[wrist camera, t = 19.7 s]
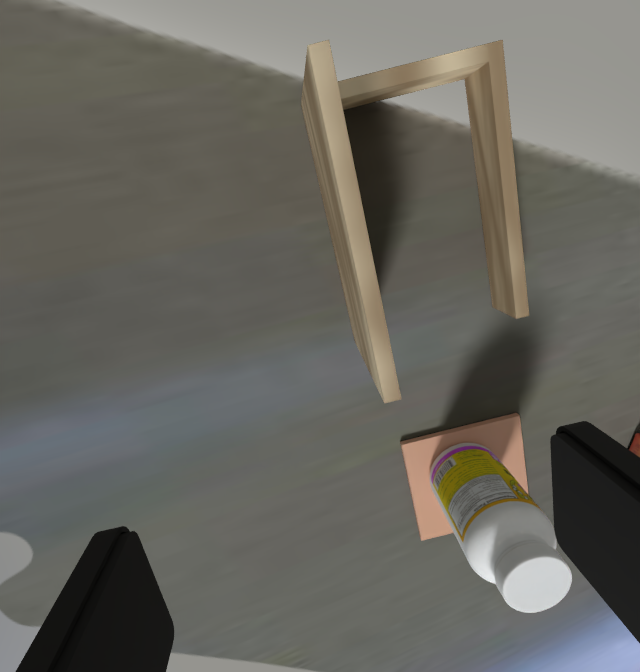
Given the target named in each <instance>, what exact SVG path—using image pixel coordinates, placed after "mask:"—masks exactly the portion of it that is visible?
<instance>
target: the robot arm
mask: <svg viewBox="0 0 640 672" xmlns="http://www.w3.org/2000/svg"><path fill="white" fill-rule="evenodd" d="M551 465H552V487H553V510H554V531H555V536H556V539H557V541H558V544H559V545H560V547H561V548H562V550H563V551H564V552H565V554H566V555H567V556H568V557H569V558H570V560H571V561H572V562H573V563H574V564H575V566H576V567H577V568H578V569H579V571H580V572H581V573H582V574H583V575H584V577H585V578H586V579H587V580H588V581H589V583H590V584H591V585H592V586H593V587H594V589H595V590H596V591H597V592H598V593H599V595H600V596H601V597H602V598H603V599H604V601H605V602H606V603H607V604H608V606H609V607H610V608H611V609H612V610H613V612H614V613H615V614H616V615H617V616H618V618H619V619H620V620H621V621H622V622H623V624H624V625H625V626H626V627H627V628H628V630H629V631H630V632H631V633H632V635H633V636H634V637H635V638H636V639H637V641H638V642H639V643H640V457H638V456H637V455H635V454H634V453H633V452H631V451H630V450H628V449H627V448H625V447H624V446H622V445H621V444H620V443H618V442H617V441H615V440H614V439H612V438H611V437H609V436H608V435H607V434H605V433H604V432H602V431H601V430H599V429H598V428H596V427H595V426H594V425H592V424H591V423H589V422H587V421H582V422H578V423H574V424H569V425H565V426H560V427H559V428H558V429H557V431H556V435H553V436H552V437H551ZM173 640H174V626H173V621H172V619H171V616H170V614H169V611H168V609H167V606H166V604H165V601H164V599H163V596H162V594H161V591H160V589H159V586H158V584H157V581H156V579H155V576H154V574H153V571H152V569H151V566H150V564H149V561H148V559H147V556H146V554H145V551H144V549H143V546H142V544H141V541H140V539H139V536H138V534H137V533H136V532H135V531H132V532H130V531H129V529H128V528H126V527H124V526H122V527H118V528H113V529H109V530H105V531H100V532H97V533H95V535H94V536H93V537H92V539H91V541H90V542H89V544H88V546H87V548H86V549H85V551H84V553H83V555H82V556H81V558H80V560H79V562H78V563H77V565H76V567H75V569H74V570H73V572H72V574H71V576H70V577H69V579H68V581H67V583H66V584H65V586H64V588H63V590H62V591H61V593H60V595H59V597H58V598H57V600H56V602H55V604H54V605H53V607H52V609H51V611H50V612H49V614H48V616H47V618H46V619H45V621H44V623H43V625H42V626H41V628H40V630H39V632H38V634H37V635H36V637H35V639H34V640H33V642H32V644H31V646H30V648H29V649H28V651H27V653H26V654H25V656H24V658H23V660H22V661H21V663H20V665H19V667H18V668H17V670H16V672H166V669H167V665H168V661H169V656H170V653H171V649H172V645H173Z"/></svg>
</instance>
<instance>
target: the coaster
mask: <svg viewBox="0 0 640 672" xmlns="http://www.w3.org/2000/svg"><path fill="white" fill-rule="evenodd" d="M460 443H476V444H480V445H482V446H484V447H486V448H488V449H489V450H490V451H492V452H493V453H494V454H495V456H496V457H497V458H498V459H499V460H500V461H501V462H502V464H503V465H504V466H505V467H506V468H507V470H508V471H509V472H510V473H511V474H512V476H513V477H514V478H515V479H516V480H517V481H518V483H519V484H520V485H521V486H522V488H523V489H524V490H525V491H526V492H527V494H528V486H527V477H526V468H525V459H524V450H523V441H522V432H521V423H520V415H518V414H517V413H513V414H509V415H505V416H501V417H497V418H493V419H489V420H485V421H481V422H477V423H473V424H469V425H465V426H461V427H457V428H453V429H449V430H445V431H441V432H437V433H433V434H429V435H425V436H421V437H417V438H413V439H409V440H405V441H401V442H400V444H401V449H402V453H403V458H404V463H405V468H406V472H407V477H408V482H409V487H410V492H411V496H412V501H413V506H414V511H415V515H416V520H417V525H418V530H419V535H420V538H421V540H426V539H430V538H434V537H438V536H442V535H446V534H450V533H454V532H453V530H452V528H451V526H450V524H449V522H448V520H447V518H446V516H445V514H444V512H443V511H442V509H441V507H440V505H439V503H438V501H437V499H436V497H435V495H434V493H433V491H432V489H431V486H430V470H431V467H432V465H433V463H434V461H435V460H436V458H437V457H438V456H439V455H440V454H441V453H442V452H443V451H445V450H446V449H448V448H449V447H452V446H454V445H457V444H460Z"/></svg>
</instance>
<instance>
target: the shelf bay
mask: <svg viewBox="0 0 640 672" xmlns="http://www.w3.org/2000/svg"><path fill="white" fill-rule="evenodd" d="M463 79H465V86H466V94H467V102H468V110H469V118H470V127H471V135H472V143H473V151H474V159H475V168H476V176H477V184H478V192H479V200H480V208H481V217H482V225H483V233H484V241H485V249H486V257H487V266H488V274H489V282H490V290H491V298H492V307H493V308H495V309H497V310H499V311H501V312H504V313H506V314H508V315H510V316H512V317H514V318H516V319H518V318H522V317H526V316H529V309H528V299H527V288H526V278H525V267H524V257H523V247H522V236H521V226H520V216H519V205H518V195H517V184H516V174H515V164H514V153H513V143H512V133H511V123H510V113H509V102H508V92H507V81H506V70H505V60H504V50H503V40H500V41H496V42H492V43H488V44H484V45H480V46H476V47H472V48H468V49H464V50H460V51H457V52H453V53H449V54H444V55H441V56H437V57H433V58H429V59H425V60H421V61H417V62H413V63H409V64H405V65H401V66H397V67H393V68H389V69H385V70H381V71H378V72H374V73H370V74H366V75H362V76H358V77H354V78H350V79H346V80H342V81H338V82H337V77H336V73H335V68H334V62H333V57H332V52H331V48H330V43H329V40H327V41H322V42H318V43H315V44H310V45H308V47H307V55H306V65H305V74H304V83H303V92H302V101H301V107H302V111H303V115H304V120H305V124H306V129H307V133H308V137H309V142H310V146H311V151H312V155H313V159H314V164H315V168H316V173H317V177H318V181H319V186H320V190H321V195H322V199H323V203H324V208H325V212H326V217H327V221H328V225H329V230H330V234H331V239H332V243H333V247H334V252H335V256H336V260H337V265H338V269H339V274H340V278H341V282H342V287H343V291H344V296H345V300H346V304H347V309H348V313H349V318H350V322H351V326H352V331H353V335H354V340H355V343H356V345H357V347H358V349H359V351H360V353H361V355H362V357H363V359H364V361H365V363H366V366H367V368H368V370H369V372H370V374H371V376H372V378H373V380H374V382H375V384H376V386H377V388H378V390H379V393H380V395H381V397H382V399H383V401H384V403H388V402H392V401H396V400H400V399H401V395H400V390H399V385H398V380H397V375H396V370H395V365H394V360H393V355H392V350H391V345H390V340H389V335H388V330H387V325H386V320H385V315H384V310H383V305H382V300H381V295H380V290H379V286H378V281H377V276H376V271H375V266H374V261H373V256H372V251H371V246H370V241H369V236H368V231H367V226H366V221H365V216H364V211H363V206H362V201H361V196H360V191H359V186H358V181H357V176H356V171H355V167H354V162H353V157H352V152H351V147H350V142H349V137H348V132H347V127H346V122H345V117H344V112H343V110H345V109H349V108H353V107H357V106H360V105H364V104H368V103H372V102H376V101H380V100H384V99H388V98H392V97H396V96H400V95H404V94H408V93H412V92H415V91H419V90H424V89H427V88H431V87H435V86H439V85H443V84H447V83H451V82H455V81H459V80H463Z"/></svg>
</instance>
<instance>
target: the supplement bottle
mask: <svg viewBox="0 0 640 672" xmlns="http://www.w3.org/2000/svg"><path fill="white" fill-rule="evenodd" d="M430 486H431V489H432V491H433V493H434V495H435V497H436V499H437V501H438V503H439V505H440V507H441V509H442V511H443V512H444V514H445V516H446V518H447V520H448V522H449V524H450V526H451V528H452V530H453V532H454V534H455V536H456V538H457V540H458V542H459V544H460V546H461V548H462V550H463V552H464V554H465V556H466V558H467V560H468V562H469V564H470V565H471V567H472V568H473V570H474V571H475V572H476V573H477V574H478V575H479V576H481V577H482V578H484V579H485V580H487V581H489V582H491V583H494V584H496V586H497V588H498V589H499V591H500V593H501V594H502V596H503V598H504V599H505V601H506V602H507V603H508V605H509V606H511V607H512V608H514V609H515V610H518V611H521V612H527V613H534V612H540V611H543V610H546V609H548V608H550V607H552V606H554V605H555V604H557V603H558V602H559V601H561V600H562V599H563V598H564V597H565V595H566V594H567V592H568V590H569V589H570V586H571V582H572V574H571V571H570V568H569V566H568V565H567V564H566V562H565V561H564V560H563V558H562V557H561V556H560V554H559V553H558V552H557V551H556V536H555V531H554V527H553V525H552V523H551V522H550V520H549V519H548V517H547V516H546V515H545V514H544V512H543V511H542V510H541V509H540V508H539V507H538V505H537V504H536V503H535V502H534V501H533V500H532V498H531V497H530V496H529V495H528V494H527V492H526V491H525V490H524V489H523V488H522V486H521V485H520V484H519V483H518V481H517V480H516V479H515V478H514V477H513V476H512V474H511V473H510V472H509V471H508V470H507V468H506V467H505V466H504V465H503V464H502V462H501V461H500V460H499V459H498V458H497V457H496V456H495V454H494V453H493V452H492V451H490V450H489V449H488V448H486V447H484V446H482V445H480V444H476V443H460V444H457V445H454V446H452V447H449V448H448V449H446V450H445V451H443V452H442V453H441V454H440V455H439V456H438V457H437V458H436V460H435V461H434V463H433V465H432V467H431V470H430Z"/></svg>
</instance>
